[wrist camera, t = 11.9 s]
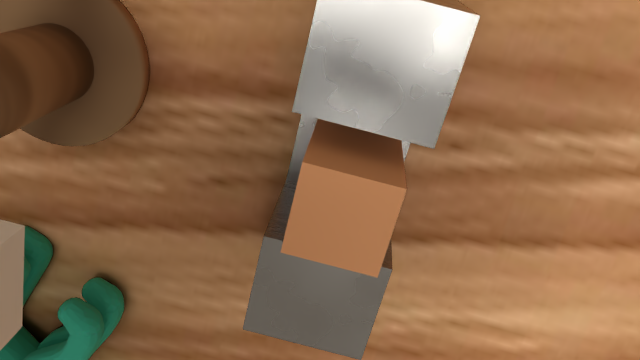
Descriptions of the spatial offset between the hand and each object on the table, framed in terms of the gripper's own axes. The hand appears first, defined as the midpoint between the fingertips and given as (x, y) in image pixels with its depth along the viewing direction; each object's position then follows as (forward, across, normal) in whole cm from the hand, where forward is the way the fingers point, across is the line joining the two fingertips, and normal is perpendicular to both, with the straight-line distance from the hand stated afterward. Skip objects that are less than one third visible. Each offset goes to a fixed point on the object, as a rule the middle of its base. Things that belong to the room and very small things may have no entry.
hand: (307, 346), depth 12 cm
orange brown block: (+14, +1, 0) cm, 14 cm away
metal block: (+15, +1, 0) cm, 15 cm away
